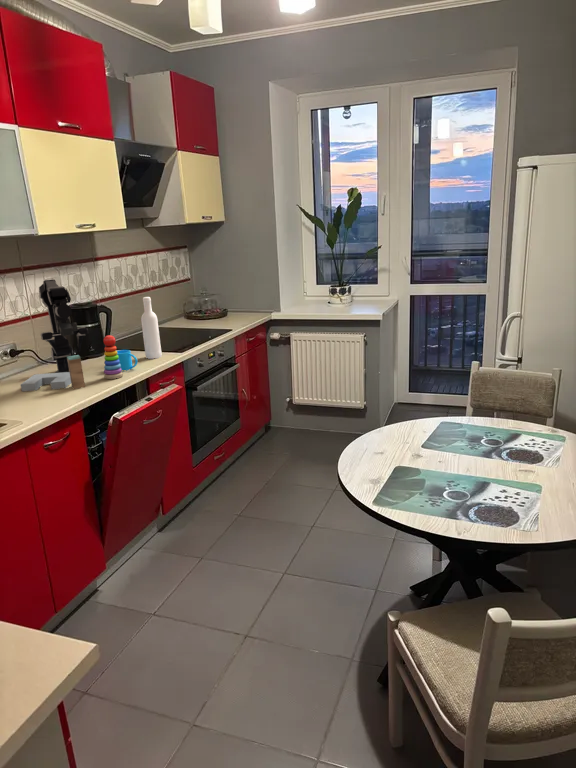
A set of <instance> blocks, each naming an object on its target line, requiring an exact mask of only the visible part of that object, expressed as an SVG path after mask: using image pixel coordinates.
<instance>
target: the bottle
mask: <svg viewBox="0 0 576 768" xmlns="http://www.w3.org/2000/svg"><path fill="white" fill-rule="evenodd" d="M142 302H143V303H142V304H143V309H144V310H143V311H144V312H143V313H142V315H141V319H140V320H141V330H142V337H143V344H144V345H143V346H144V353H145V354H144V355H145V358H146V359H147V358H148V359H149V360H151V359H152V360H154V358H155V359H159V357H160V358H161V357H162V356H163V355H162V353H163V352H162V347H161V338H160V330H159V322H158V320H159V319H158V316H157V314H156V313H155V312H154V311H153V309H152V299H151V297H150V296H144V297H142Z"/></svg>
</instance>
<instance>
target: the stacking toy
mask: <svg viewBox="0 0 576 768" xmlns="http://www.w3.org/2000/svg"><path fill="white" fill-rule="evenodd" d="M116 342H117V341H116V338H115V336H114V335H105V337H103V344H104V345H105V347H104V353H103V355H104V366H103V368H104V370H103V373H104V374H103V377H104V379H106V380H116V378H117V379H120V378H122V377H123V376H124V373H123V371H122V369H121V368H120V367H121V364H120V361H119V359H118V358H119V356H118V355H117V351H118V350H117V346H116Z"/></svg>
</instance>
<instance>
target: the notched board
mask: <svg viewBox="0 0 576 768" xmlns="http://www.w3.org/2000/svg"><path fill="white" fill-rule="evenodd" d="M19 385H20V389H21V392H32V391H34V390H35V391H37V390H38V389H40V388H41V387H42V386H43V385H50V387H51V390H60V388H64V389H67V388H68V387H69V386H70V385H72V384H71V378H70V372H61V373H55V372H51V373H49V372H48V373H37V374H33V375H31V376H30V377H29V378H27V379H26V380H25V381H23V382H22V383H20V384H19ZM68 385H69V386H68ZM40 386H41V387H40ZM67 386H68V387H67ZM66 387H67V388H66Z"/></svg>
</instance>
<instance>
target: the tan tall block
mask: <svg viewBox="0 0 576 768" xmlns="http://www.w3.org/2000/svg"><path fill="white" fill-rule="evenodd" d="M81 358H82V357H81V356H80V355H79V354H77V355H75V354H74V355H73V356H69V357H67V361H68V367H69V372H70V378H71V384H70V385H71V388H72V389H73V388H74V389H73V390H77V389H81V387H83V388H86V385H85V377H84V371H83V365H82V360H81ZM76 388H77V389H76Z"/></svg>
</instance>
